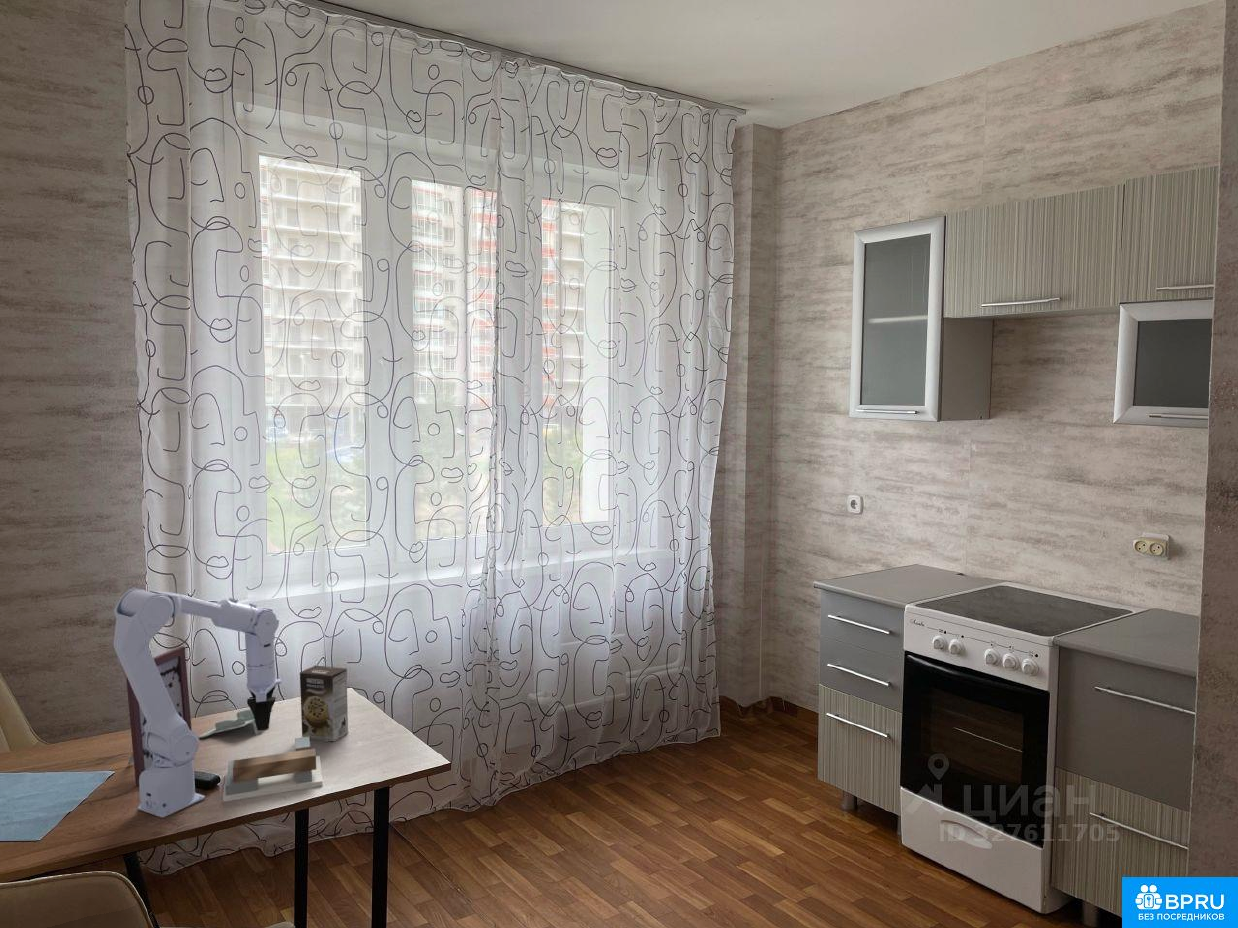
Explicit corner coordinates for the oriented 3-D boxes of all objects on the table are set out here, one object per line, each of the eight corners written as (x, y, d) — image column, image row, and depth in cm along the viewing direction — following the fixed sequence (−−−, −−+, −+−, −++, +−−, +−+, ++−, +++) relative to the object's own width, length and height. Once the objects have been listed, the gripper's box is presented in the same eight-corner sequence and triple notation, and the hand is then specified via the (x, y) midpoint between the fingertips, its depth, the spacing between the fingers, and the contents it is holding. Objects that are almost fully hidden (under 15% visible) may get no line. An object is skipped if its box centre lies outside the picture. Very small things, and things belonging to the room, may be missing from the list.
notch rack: (223, 801, 177) (221, 772, 176) (226, 773, 190) (225, 746, 189) (322, 785, 184) (321, 757, 183) (319, 759, 197) (318, 733, 196)
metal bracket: (279, 699, 220) (236, 721, 206) (286, 721, 220) (243, 744, 206) (235, 709, 224) (190, 731, 210) (241, 731, 224) (197, 754, 210)
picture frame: (140, 785, 185) (133, 669, 183) (100, 781, 187) (93, 666, 185) (193, 753, 201) (188, 646, 199) (156, 750, 203) (150, 644, 201)
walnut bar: (233, 782, 179) (232, 767, 179) (234, 774, 183) (233, 760, 182) (316, 769, 185) (315, 755, 184) (315, 761, 188) (315, 748, 188)
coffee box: (300, 738, 209) (298, 672, 208) (317, 728, 215) (314, 664, 214) (333, 742, 206) (331, 675, 205) (349, 732, 213) (347, 667, 211)
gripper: (280, 669, 186) (283, 732, 187) (280, 651, 199) (282, 709, 201) (244, 674, 183) (247, 737, 185) (246, 655, 197) (249, 713, 198)
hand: (263, 723), depth 192 cm, fingers open, 7 cm apart
